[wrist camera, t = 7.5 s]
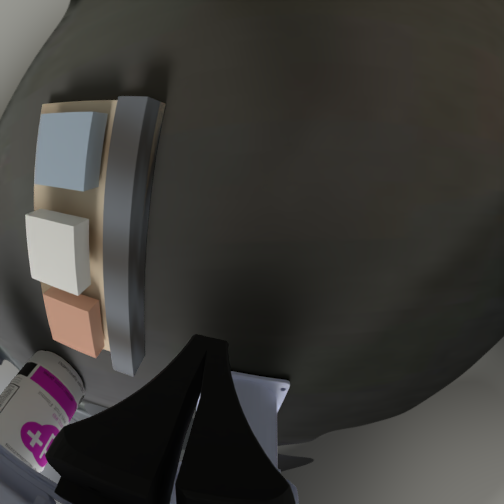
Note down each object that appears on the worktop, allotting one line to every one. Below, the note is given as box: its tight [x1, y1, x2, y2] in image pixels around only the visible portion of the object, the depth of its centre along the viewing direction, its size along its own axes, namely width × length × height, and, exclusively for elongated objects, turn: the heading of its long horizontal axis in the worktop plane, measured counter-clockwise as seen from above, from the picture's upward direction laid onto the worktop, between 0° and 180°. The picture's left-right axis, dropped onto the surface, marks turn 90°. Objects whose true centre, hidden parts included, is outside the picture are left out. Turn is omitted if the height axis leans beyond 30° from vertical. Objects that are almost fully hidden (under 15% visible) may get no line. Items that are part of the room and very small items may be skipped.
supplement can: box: [0, 350, 85, 472], centre depth 19 cm, size 8×8×15 cm
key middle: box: [25, 209, 91, 296], centre depth 16 cm, size 5×5×2 cm
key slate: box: [34, 112, 108, 191], centre depth 14 cm, size 5×5×2 cm
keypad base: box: [34, 96, 166, 377], centre depth 18 cm, size 21×11×3 cm, turn 168°
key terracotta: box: [43, 286, 105, 358], centre depth 19 cm, size 5×5×2 cm
